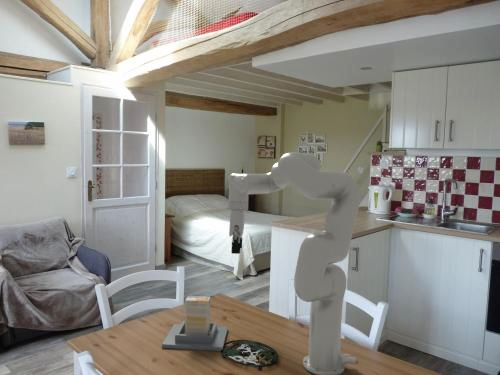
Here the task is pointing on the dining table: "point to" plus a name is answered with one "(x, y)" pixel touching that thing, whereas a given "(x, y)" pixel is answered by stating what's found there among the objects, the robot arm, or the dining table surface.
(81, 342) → the dining table surface
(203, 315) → the supplement box
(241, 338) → the dining table surface
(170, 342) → the cradle board
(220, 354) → the dining table surface
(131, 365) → the dining table surface
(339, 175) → the robot arm
